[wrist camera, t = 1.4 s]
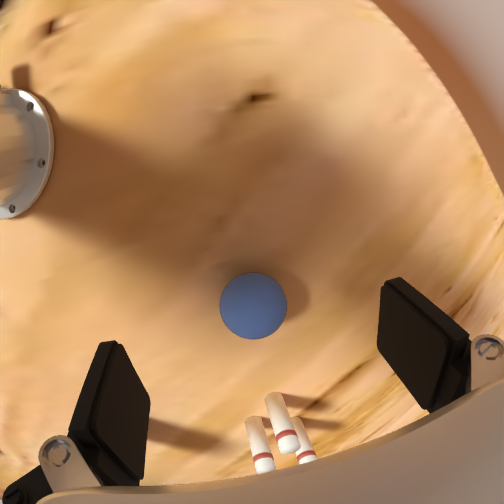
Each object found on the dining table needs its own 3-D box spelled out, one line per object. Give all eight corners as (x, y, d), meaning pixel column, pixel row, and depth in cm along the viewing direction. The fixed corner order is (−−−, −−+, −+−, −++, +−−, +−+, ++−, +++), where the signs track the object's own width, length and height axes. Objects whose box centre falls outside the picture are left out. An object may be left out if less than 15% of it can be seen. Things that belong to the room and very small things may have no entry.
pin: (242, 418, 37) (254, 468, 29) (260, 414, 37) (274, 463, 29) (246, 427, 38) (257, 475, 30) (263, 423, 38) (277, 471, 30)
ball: (210, 271, 28) (214, 303, 23) (272, 255, 29) (290, 283, 23) (225, 322, 31) (232, 360, 25) (281, 307, 31) (298, 341, 26)
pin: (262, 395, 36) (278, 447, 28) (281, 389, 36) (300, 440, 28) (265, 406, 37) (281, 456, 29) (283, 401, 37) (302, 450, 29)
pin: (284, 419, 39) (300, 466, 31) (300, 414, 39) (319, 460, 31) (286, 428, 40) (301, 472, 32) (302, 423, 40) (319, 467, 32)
